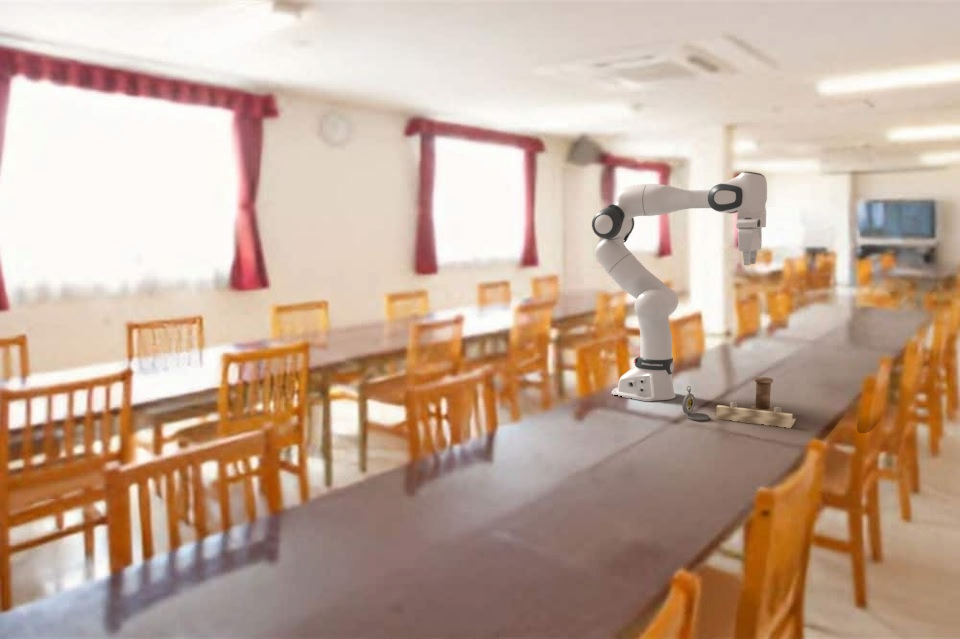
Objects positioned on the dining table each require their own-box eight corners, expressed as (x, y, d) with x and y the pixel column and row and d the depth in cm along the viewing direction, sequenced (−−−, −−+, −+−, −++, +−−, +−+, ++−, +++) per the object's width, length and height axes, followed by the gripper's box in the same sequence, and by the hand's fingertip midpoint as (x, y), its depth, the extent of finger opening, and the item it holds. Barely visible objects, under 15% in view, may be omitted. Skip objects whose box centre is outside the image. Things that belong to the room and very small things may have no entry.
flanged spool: (749, 412, 232) (750, 379, 230) (753, 407, 238) (754, 375, 236) (771, 414, 228) (773, 382, 227) (775, 409, 234) (776, 377, 233)
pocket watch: (710, 422, 221) (711, 390, 219) (682, 420, 222) (683, 389, 221) (707, 415, 229) (708, 384, 227) (680, 414, 230) (681, 384, 229)
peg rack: (716, 418, 224) (716, 403, 223) (723, 411, 233) (723, 396, 232) (791, 428, 213) (791, 412, 212) (795, 420, 221) (796, 404, 221)
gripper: (747, 222, 241) (745, 262, 243) (734, 222, 223) (733, 266, 225) (767, 221, 238) (765, 263, 239) (755, 222, 220) (754, 266, 222)
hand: (749, 264), depth 232 cm, fingers open, 8 cm apart
